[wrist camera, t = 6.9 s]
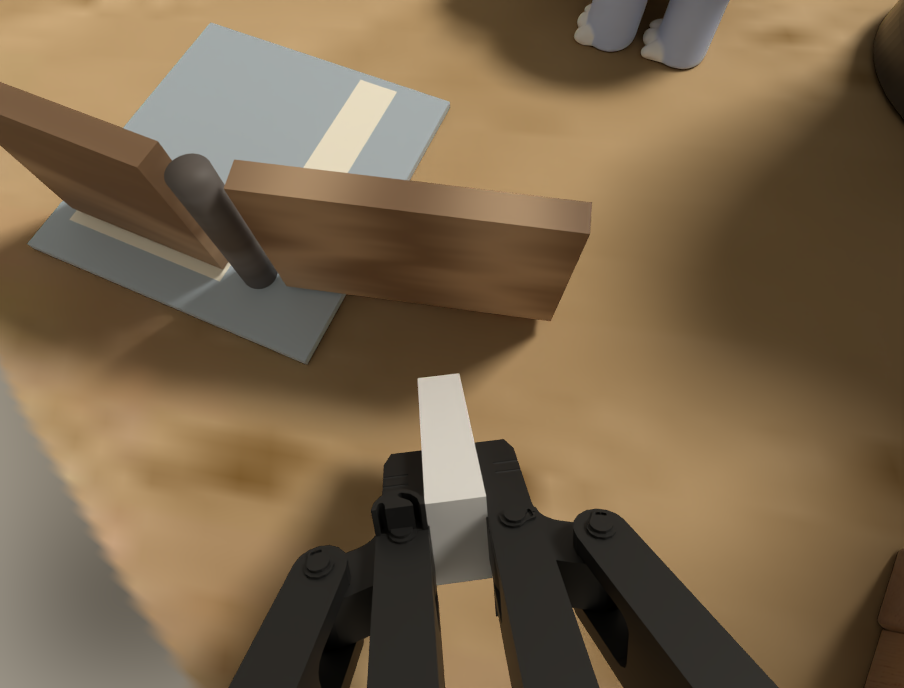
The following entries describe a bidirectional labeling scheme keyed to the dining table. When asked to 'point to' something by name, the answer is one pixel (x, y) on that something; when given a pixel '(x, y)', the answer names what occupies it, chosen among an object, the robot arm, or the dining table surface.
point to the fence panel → (412, 238)
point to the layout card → (258, 140)
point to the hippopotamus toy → (653, 29)
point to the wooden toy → (890, 634)
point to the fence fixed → (131, 183)
